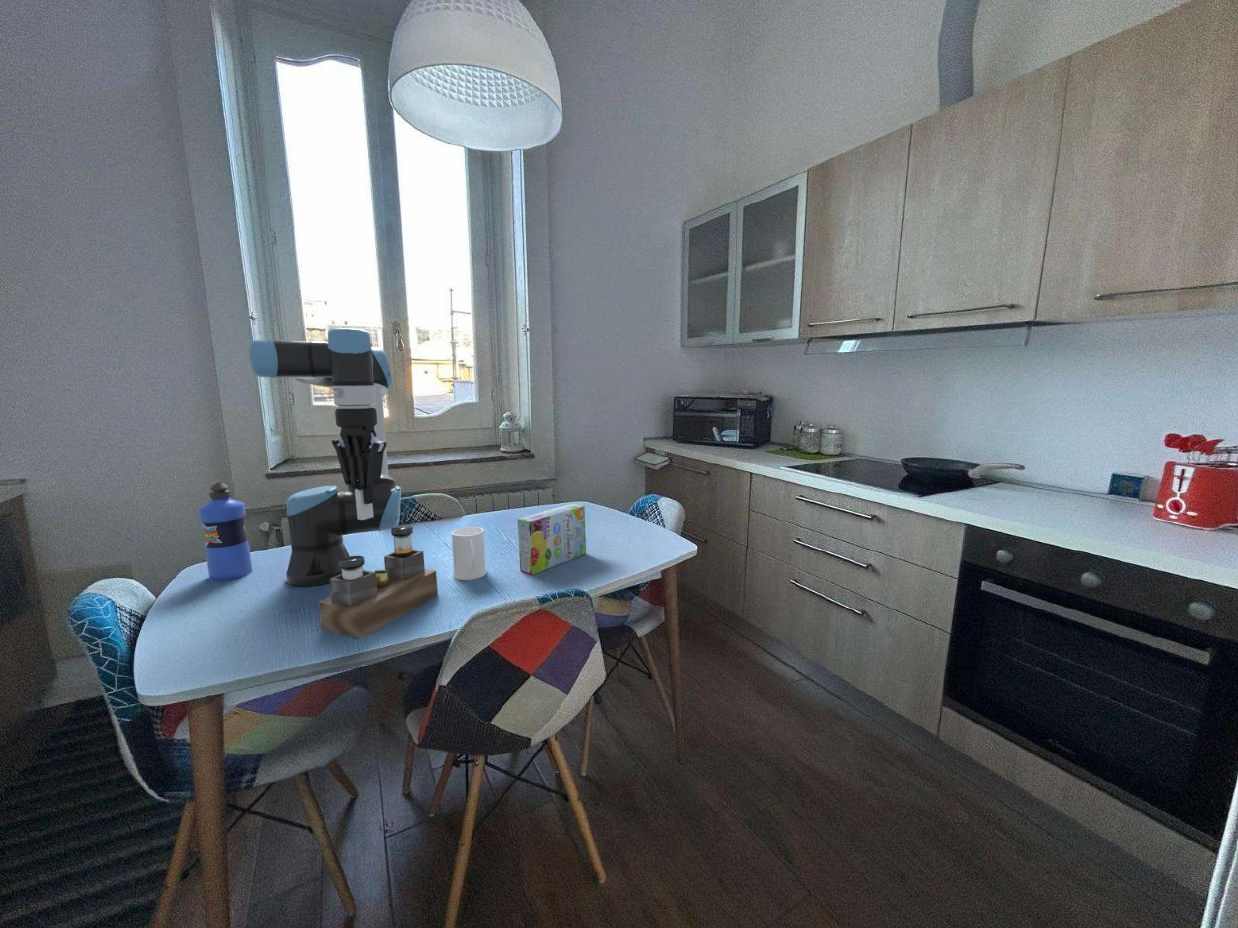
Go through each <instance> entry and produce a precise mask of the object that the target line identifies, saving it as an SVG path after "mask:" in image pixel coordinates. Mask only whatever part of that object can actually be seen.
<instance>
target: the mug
mask: <svg viewBox="0 0 1238 928" xmlns="http://www.w3.org/2000/svg"><path fill="white" fill-rule="evenodd" d="M484 533H485V532H484V528H482V527H477V526H466V527H460V528H455V530H453V531H452V532H451V542H452V557H453V559H452V560H453V561H452V562H453V575H452V577H453V578H454V579H456V580H459V581H473V580H478V579H480V578H483V577H484V576H486V574H487V567H486V557H485V556H486V554H485V553H486V550H485V534H484Z"/></svg>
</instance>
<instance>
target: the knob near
mask: <svg viewBox="0 0 1238 928" xmlns="http://www.w3.org/2000/svg"><path fill="white" fill-rule="evenodd" d="M364 565H365V557H364V556H363V555H349V557H345V558H342V559H340V560H339V568H341V569H342V577H343V580H346V581H351V582H352V581H354V580H357V579H359V578H361V577H363V570H364V568H363V566H364Z"/></svg>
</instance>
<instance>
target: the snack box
mask: <svg viewBox="0 0 1238 928" xmlns="http://www.w3.org/2000/svg"><path fill="white" fill-rule="evenodd" d="M585 507H586V506H585V505H582V504H577V503H570V504H566V505H563V506H560V507H555V508H551V509H547V510H545V511H541V512H538V513H534V514H530V515H527V516H523V517H520V518H517V533H518V534H517V535H518V548H519V549H518V552H519V569H520V571H521V572H524V573H526V574H529V575H532V576H533V575H535V574H538V573H541V572H544V571H545V570H548V569H551V568H553V567H555V566H558V565H560V564H563V563H565V562H566V563H567V562H568V561H571V560H573V559H575V558H578V557H581V556H584V555H585V554H587V541H586V539H587V537H586V508H585Z"/></svg>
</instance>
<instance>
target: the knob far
mask: <svg viewBox="0 0 1238 928" xmlns="http://www.w3.org/2000/svg"><path fill="white" fill-rule="evenodd" d="M390 531H391V536H393V544H394V552H395V557H399V558H406V557H408V556H411V555H413V550H414V548H413V539H412V534H413V533H414V528H413V526H412V525H397V526H396V527H394V528H392V529H390Z"/></svg>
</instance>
